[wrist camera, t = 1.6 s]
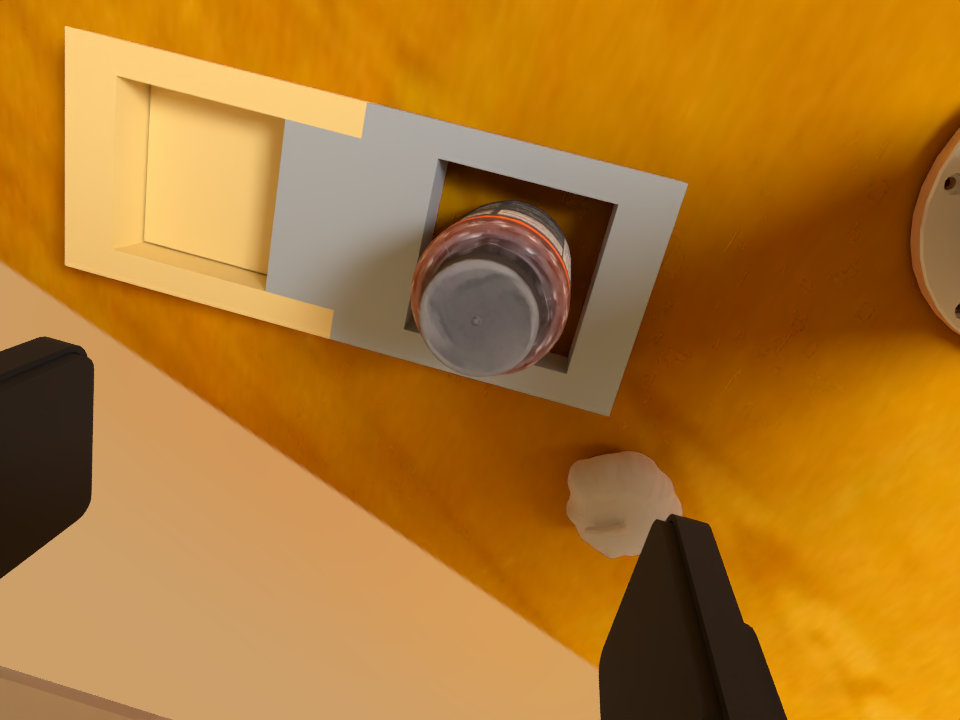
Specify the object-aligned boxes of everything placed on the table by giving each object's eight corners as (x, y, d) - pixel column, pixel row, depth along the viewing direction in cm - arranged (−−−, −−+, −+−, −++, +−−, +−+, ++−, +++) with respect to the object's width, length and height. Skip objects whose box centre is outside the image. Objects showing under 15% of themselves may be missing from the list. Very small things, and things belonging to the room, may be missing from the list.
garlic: (548, 502, 35) (543, 561, 30) (582, 419, 33) (583, 467, 28) (651, 539, 35) (663, 604, 30) (692, 457, 33) (711, 512, 28)
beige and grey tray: (679, 180, 29) (688, 183, 26) (606, 396, 33) (609, 416, 30) (104, 34, 30) (65, 25, 28) (100, 256, 34) (64, 265, 32)
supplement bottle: (508, 343, 32) (474, 441, 22) (426, 258, 32) (348, 317, 21) (598, 263, 30) (608, 328, 20) (512, 170, 30) (475, 187, 19)
